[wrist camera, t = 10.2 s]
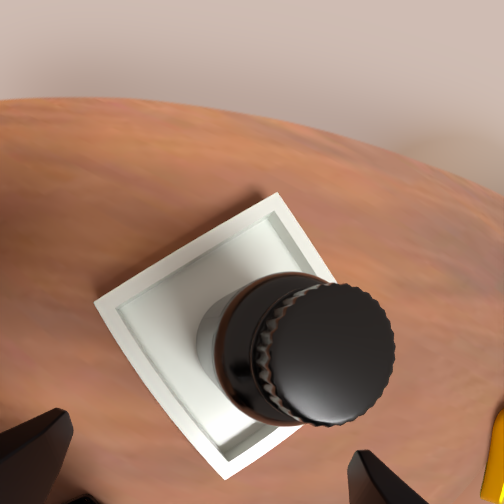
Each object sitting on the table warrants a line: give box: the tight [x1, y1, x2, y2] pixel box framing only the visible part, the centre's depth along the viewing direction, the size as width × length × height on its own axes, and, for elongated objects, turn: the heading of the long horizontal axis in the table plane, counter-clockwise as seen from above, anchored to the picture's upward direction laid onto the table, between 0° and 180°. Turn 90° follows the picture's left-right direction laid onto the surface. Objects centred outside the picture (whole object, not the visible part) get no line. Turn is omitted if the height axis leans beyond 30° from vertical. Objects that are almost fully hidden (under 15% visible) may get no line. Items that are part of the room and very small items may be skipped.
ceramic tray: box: [93, 192, 337, 480], centre depth 20 cm, size 14×14×2 cm
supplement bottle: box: [196, 271, 396, 427], centre depth 15 cm, size 7×7×12 cm
